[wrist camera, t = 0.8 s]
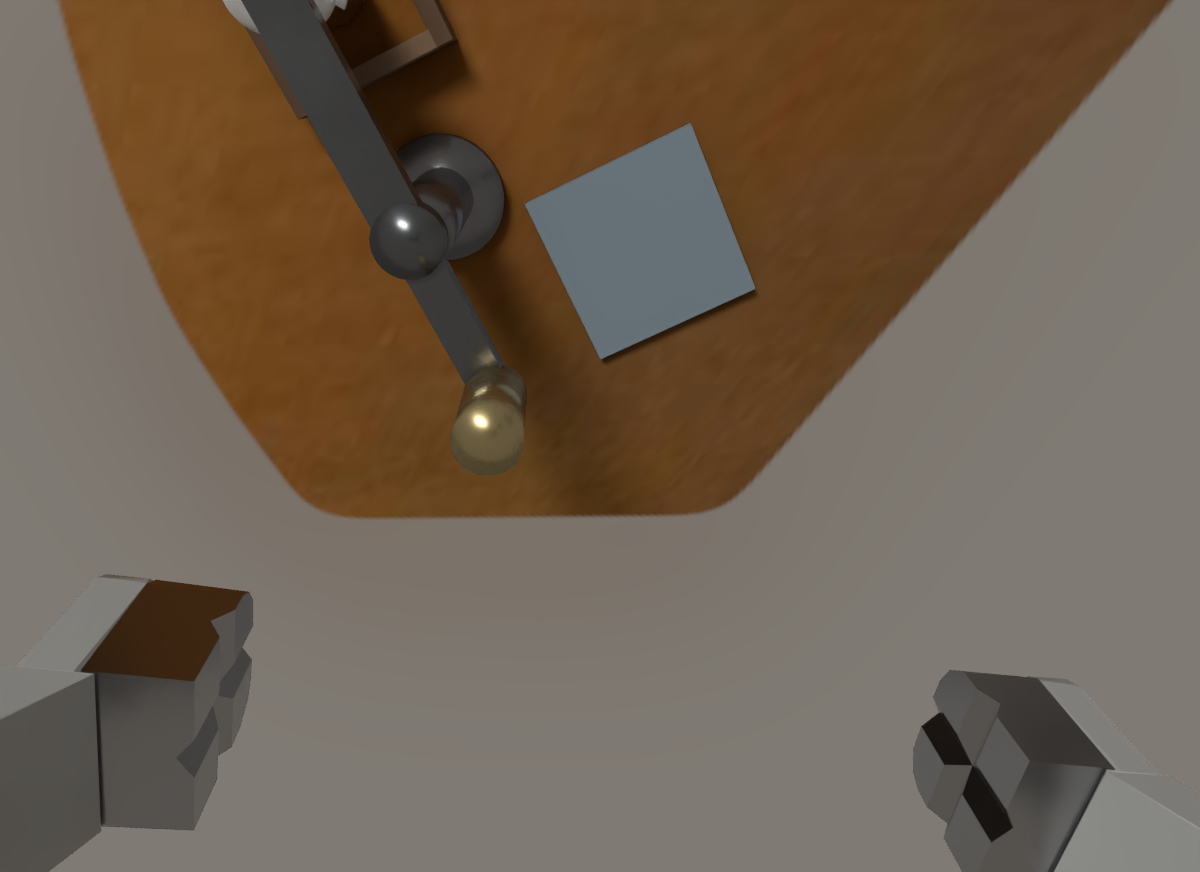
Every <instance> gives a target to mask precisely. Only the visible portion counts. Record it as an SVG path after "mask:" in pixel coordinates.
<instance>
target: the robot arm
mask: <svg viewBox="0 0 1200 872" xmlns="http://www.w3.org/2000/svg"><path fill="white" fill-rule="evenodd" d="M252 627H253V599H252V597H251V595H250V593H249V592H245V591H239V590H230V589H223V588H215V587H208V586H200V585H192V584H184V583H177V582H169V581H162V580H154V581H153V580H151V579H146V578H137V577H127V576H119V575H109V574H106V575H102V576H99V577H96V578H95V579H94V580H93V581H92V582H91V583H90V584H89V585H88V586H87V587H86V589H85V590H84V591H83V592H82V593H81V594H80V595H79V596H78V598H77V599H76V600H75V601H74V602H73V603H72V604H71V606H70V607H69V608H68V609H67V610H66V611H65V612H64V613H63V615H62V616H61V617H60V618H59V619H58V620H57V621H56V623H55V624H54V625H53V626H52V627H51V628H50V629H49V631H48V632H47V633H46V634H45V635H44V636H43V637H42V638H41V639H40V641H39V642H38V643H37V644H36V645H35V646H34V647H33V648H32V650H31V651H30V652H29V653H28V654H27V655H26V656H25V657H24V659H23V660H22V661H21V662H20V663H19V664H18V665H17V666H9V665H0V872H49V871H50V870H51V869H52V868H54V867H55V866H56V865H58V864H59V863H60V862H62V861H63V860H64V859H66V858H67V857H68V856H69V855H71V854H72V853H73V852H75V851H76V850H77V849H79V848H80V847H81V846H83V845H84V844H85V843H87V842H88V841H89V840H90V839H92V838H93V837H94V836H96V835H97V834H98V833H100V831H101V826H107V827H130V828H151V829H174V830H194V828H195V826H196V824H197V822H198V820H199V817H200V815H201V813H202V811H203V809H204V806H205V804H206V802H207V800H208V798H209V795H210V794H211V791H212V789H213V787H214V785H215V783H216V780H217V766H218V755H220V754H221V753H223V752H225V751H226V750H228V749H229V748H231V747H232V745H233V743H234V740H235V738H236V736H237V733H238V731H239V728H240V726H241V722H242V718H243V715H244V711H245V708H246V704H247V700H248V694H249V687H250V681H251V664H252V659H251V658H250V657H249V655H248V654H247V653H246V652H245V650H244V649H243V648H242V647H243V645H244V643H245V641H246V639H247V637H248V635H249V633H250V631H251V629H252ZM933 698H934V700H935V703H936V706H937V708H938V710H939V713H938V714H937V715H935V716H934V717H933V718H931V719H930V720H929V721H928V722H926V723H925V724H924V725H922V726H921V729H920V732H919V734H918V737H917V740H916V743H915V746H914V751H913V752H914V754H913V763H914V764H913V772H914V776H915V780H916V784H917V788H918V790H919V792H920V795H921V796H922V798H923V800H924V802H925V804H926V806H927V807H928V808H929V809H930V810H931V811H933V812H934V813H935V814H937V815H938V816H939V817H940V818H941V819H943V820H944V821H945V822H947V823H948V824H947V828H946V831H945V835H944V839H945V841H946V843H947V845H948V846H949V848H950V850H951V852H952V854H953V856H954V858H955V859H956V861H957V863H958V865H959V867H960V868H961V870H962V872H1200V792H1198V791H1196V790H1195V789H1193V788H1192V787H1190V786H1188V785H1186V784H1185V783H1183V782H1181V781H1180V780H1178V779H1176V778H1175V777H1173V776H1166V775H1160V774H1159V773H1158V772H1157V771H1156V770H1155V768H1154V767H1153V766H1152V765H1151V764H1150V763H1149V762H1148V761H1147V760H1146V759H1145V757H1144V756H1143V755H1142V754H1141V753H1140V752H1139V751H1138V750H1137V749H1136V748H1135V747H1134V746H1133V744H1132V743H1131V742H1130V741H1129V740H1128V739H1127V738H1126V737H1125V736H1124V734H1123V733H1122V732H1121V731H1120V730H1119V729H1118V728H1117V727H1116V726H1115V725H1114V723H1113V722H1112V721H1111V720H1110V719H1109V718H1108V717H1107V716H1106V715H1105V714H1104V713H1103V711H1102V710H1101V709H1100V708H1099V707H1098V706H1097V705H1096V704H1095V703H1094V702H1093V700H1092V699H1091V698H1090V697H1089V696H1088V695H1087V694H1086V693H1085V692H1084V691H1083V690H1082V688H1081V687H1080V686H1079V685H1077V684H1074V683H1073V682H1071V681H1069V680H1066V679H1057V678H1056V679H1055V678H1043V677H1030V676H1028V677H1020V676H1009V675H998V674H988V673H977V672H966V671H955V670H949V672H948V673H947V674H946V675H945V676H944V677H943V678H942V679H941V680H940V682H939V685H938V687H937V689H936V692H935V694H934V696H933Z"/></svg>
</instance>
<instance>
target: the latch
mask: <svg viewBox="0 0 1200 872" xmlns="http://www.w3.org/2000/svg"><path fill="white" fill-rule="evenodd" d="M241 1H242V3H243V5H244V6H245V8H246V10H247V12H248V13H249V15H250V17H251V19H252V20H253V22H254V24H255V26H256V28H257V29H258V31H259V33H260V35H261V36H262V38H263V40H264V42H265V43H266V45H267V47H268V49H269V50H270V52H271V54H272V56H273V57H274V59H275V61H276V63H277V64H278V66H279V68H280V70H281V71H282V73H283V75H284V77H285V78H286V80H287V82H288V84H289V85H290V87H291V89H292V91H293V92H294V94H295V96H296V98H297V99H298V101H299V103H300V105H301V107H302V108H303V110H304V112H305V114H306V115H307V117H308V119H309V121H310V122H311V124H312V126H313V128H314V129H315V131H316V133H317V135H318V136H319V138H320V140H321V142H322V143H323V145H324V147H325V149H326V150H327V152H328V154H329V156H330V157H331V159H332V161H333V163H334V164H335V166H336V168H337V170H338V171H339V173H340V175H341V177H342V179H343V180H344V182H345V184H346V186H347V187H348V189H349V191H350V193H351V194H352V196H353V198H354V200H355V201H356V203H357V205H358V207H359V208H360V210H361V212H362V214H363V215H364V217H365V219H366V221H367V222H368V224H369V226H370V228H371V231H370V239H369V240H370V248H371V251H372V254H373V256H374V258H375V260H376V261H377V263H378V264H379V265H380V267H381V268H382V269H384V270H385V271H386V272H387V273H389V274H391V275H392V276H395V277H397V278H400V279H405V280H406V281H407V282H408V284H409V286H410V288H411V289H412V291H413V293H414V295H415V297H416V298H417V300H418V302H419V304H420V305H421V307H422V309H423V311H424V312H425V314H426V316H427V318H428V319H429V321H430V323H431V325H432V327H433V328H434V330H435V332H436V334H437V335H438V337H439V339H440V341H441V342H442V344H443V346H444V348H445V349H446V351H447V353H448V355H449V357H450V358H451V360H452V362H453V364H454V365H455V367H456V369H457V371H458V372H459V374H460V376H461V378H462V379H463V381H464V383H465V387H464V390H463V394H462V398H461V401H460V405H459V409H458V412H457V416H456V419H455V423H454V427H453V430H452V434H451V440H450V442H451V450H452V452H453V455H454V457H455V458H456V460H457V461H458V462H459V464H460V465H462V466H463V467H464V468H465V469H467V470H468V471H470V472H473V473H475V474H479V475H485V476H490V475H497V474H500V473H503V472H505V471H507V470H509V469H510V468H511V467H513V466H514V465H515V464H516V462H517V461H518V459H519V458H520V456H521V453H522V450H523V440H524V428H525V416H526V404H527V388H526V385H525V382H524V380H523V379H522V377H521V376H520V375H519V374H518V373H517V372H516V371H515V370H514V369H512V368H510V367H508V366H505V365H504V363H503V361H502V359H501V357H500V356H499V354H498V352H497V350H496V348H495V346H494V344H493V343H492V341H491V339H490V337H489V335H488V333H487V332H486V330H485V328H484V326H483V324H482V322H481V320H480V319H479V317H478V315H477V313H476V311H475V309H474V307H473V306H472V304H471V302H470V300H469V298H468V296H467V294H466V293H465V291H464V289H463V287H462V285H461V283H460V282H459V280H458V278H457V276H456V274H455V272H454V270H453V269H452V267H451V265H450V263H449V261H448V259H447V257H446V256H445V254H446V251H447V249H448V243H449V235H448V230H447V226H446V224H445V222H444V220H443V218H442V217H441V215H440V214H439V213H438V212H437V211H436V210H435V209H434V208H432V207H431V206H429V205H428V204H426V203H423V202H422V200H421V198H420V197H419V195H418V193H417V191H416V189H415V187H414V185H413V184H412V182H411V180H410V178H409V176H408V174H407V172H406V171H405V169H404V167H403V165H402V163H401V161H400V159H399V158H398V156H397V154H396V152H395V150H394V148H393V146H392V145H391V143H390V141H389V139H388V137H387V135H386V133H385V131H384V130H383V128H382V126H381V124H380V122H379V120H378V118H377V117H376V115H375V113H374V111H373V109H372V107H371V105H370V104H369V102H368V100H367V98H366V96H365V94H364V92H363V91H362V89H361V87H360V85H359V83H358V81H357V79H356V78H355V76H354V74H353V72H352V70H351V68H350V66H349V64H348V63H347V61H346V59H345V57H344V55H343V53H342V51H341V50H340V48H339V46H338V44H337V42H336V40H335V38H334V37H333V35H332V33H331V31H330V29H329V27H328V25H327V24H326V22H325V20H324V18H323V16H322V14H321V12H320V11H319V9H318V7H317V5H316V3H315V1H314V0H241Z"/></svg>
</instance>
